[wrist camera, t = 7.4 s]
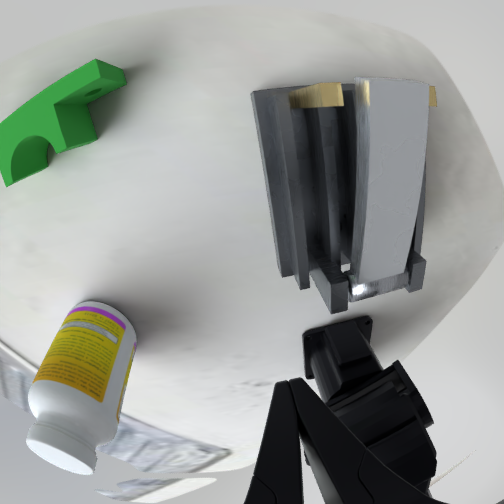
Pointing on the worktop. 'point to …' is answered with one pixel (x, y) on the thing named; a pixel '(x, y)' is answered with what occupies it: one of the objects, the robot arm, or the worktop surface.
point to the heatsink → (318, 184)
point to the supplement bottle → (81, 387)
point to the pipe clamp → (54, 120)
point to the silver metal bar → (386, 181)
